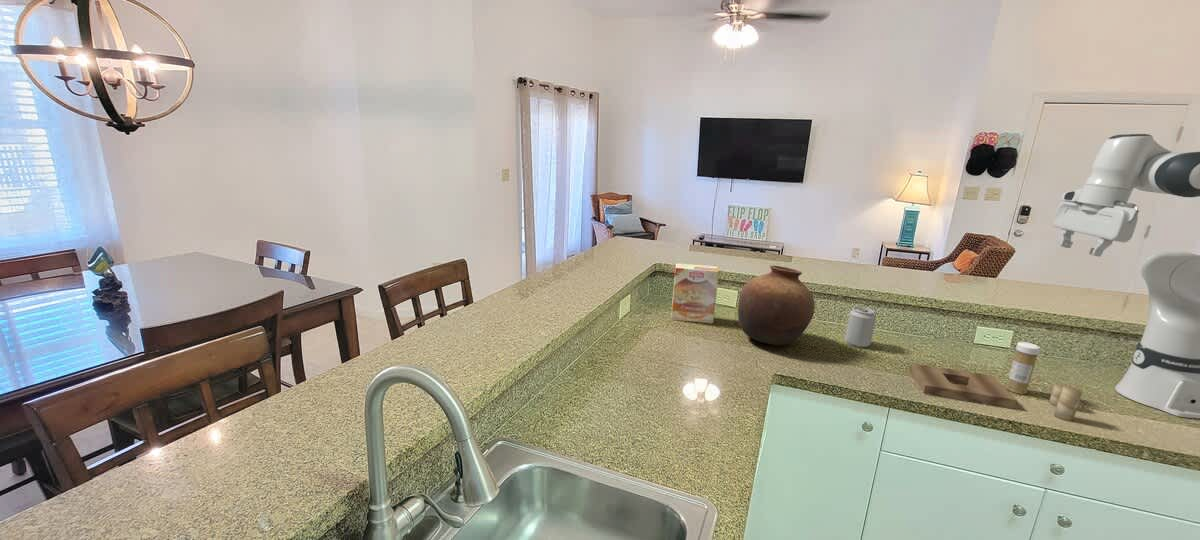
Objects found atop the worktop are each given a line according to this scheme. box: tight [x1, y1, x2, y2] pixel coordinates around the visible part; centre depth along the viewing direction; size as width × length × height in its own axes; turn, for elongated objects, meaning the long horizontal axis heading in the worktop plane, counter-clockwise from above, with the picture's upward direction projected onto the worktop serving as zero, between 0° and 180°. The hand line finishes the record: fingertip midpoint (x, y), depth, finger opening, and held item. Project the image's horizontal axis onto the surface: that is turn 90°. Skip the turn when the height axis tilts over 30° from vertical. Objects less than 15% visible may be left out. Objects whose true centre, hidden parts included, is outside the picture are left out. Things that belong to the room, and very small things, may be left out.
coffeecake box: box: [670, 262, 720, 324], centre depth 172 cm, size 15×7×20 cm, turn 81°
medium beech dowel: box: [1054, 385, 1083, 422], centre depth 117 cm, size 3×3×8 cm
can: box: [844, 306, 877, 349], centre depth 156 cm, size 8×8×12 cm
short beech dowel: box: [1048, 383, 1065, 408], centre depth 123 cm, size 3×3×5 cm
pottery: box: [737, 264, 816, 346], centre depth 154 cm, size 23×23×25 cm
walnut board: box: [908, 362, 1018, 410], centre depth 130 cm, size 20×14×2 cm
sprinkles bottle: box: [1005, 341, 1041, 395], centre depth 129 cm, size 5×5×13 cm
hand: (1079, 251), depth 126 cm, fingers open, 8 cm apart
